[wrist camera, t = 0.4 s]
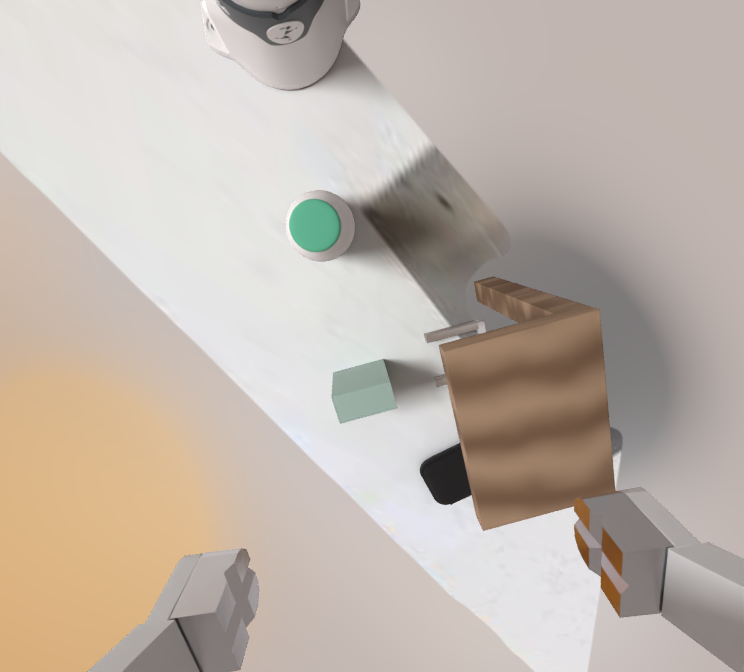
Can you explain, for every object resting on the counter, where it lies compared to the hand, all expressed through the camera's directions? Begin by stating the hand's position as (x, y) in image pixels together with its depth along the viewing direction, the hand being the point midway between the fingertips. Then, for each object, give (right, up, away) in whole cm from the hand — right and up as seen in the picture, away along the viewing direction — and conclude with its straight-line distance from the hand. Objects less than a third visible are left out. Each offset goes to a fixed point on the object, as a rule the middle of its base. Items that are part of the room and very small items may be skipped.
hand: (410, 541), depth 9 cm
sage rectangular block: (-3, -1, +49) cm, 49 cm away
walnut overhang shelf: (+13, +3, +49) cm, 51 cm away
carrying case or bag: (+15, -17, +56) cm, 60 cm away
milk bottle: (-7, +20, +43) cm, 48 cm away
